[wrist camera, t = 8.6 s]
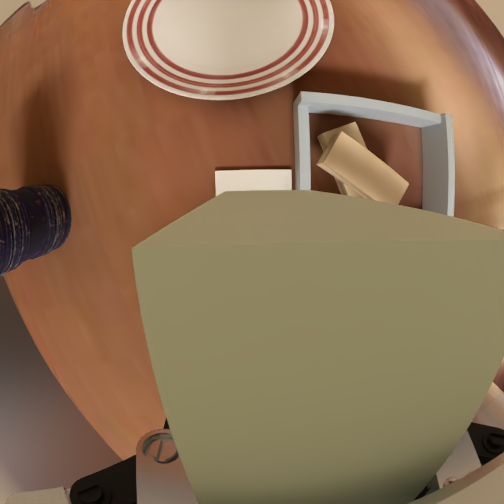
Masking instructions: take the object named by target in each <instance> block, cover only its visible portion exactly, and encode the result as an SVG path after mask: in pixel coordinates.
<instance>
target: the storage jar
mask: <svg viewBox="0 0 504 504" xmlns="http://www.w3.org/2000/svg"><path fill="white" fill-rule="evenodd" d="M70 228H71V210H70V206H69V203H68V201H67V199H66V197H65V195H64V194H63V192H62V191H61V190H60V189H58V188H57V187H55V186H53V185H31V186H26V187H22V188H19V189H17V190H7V189H0V276H1V275H3V274H5V273H7V272H9V271H11V270H13V269H15V268H17V267H18V266H19V265H20V264H21V263H22V262H24V261H26V260H28V259H34V258H37V257H40V256H43V255H45V254H47V253H49V252H51V251H52V250H54V249H57V248H59V247H60V246H61V245H62V244H63V243H64V242H65V241H66V239H67V237H68V235H69V232H70Z"/></svg>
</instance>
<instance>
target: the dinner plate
mask: <svg viewBox="0 0 504 504" xmlns="http://www.w3.org/2000/svg"><path fill="white" fill-rule="evenodd" d="M333 30H334V13H333V9H332V5H331V2H330V0H132V1H131V3H130V5H129V7H128V10H127V12H126V15H125V19H124V23H123V31H122V33H123V44H124V48H125V51H126V54H127V56H128V58H129V60H130V62H131V63H132V65H133V66H134V67H135V69H136V70H137V71H138V72H139V73H140V74H141V75H142V76H144V77H145V78H146V79H147V80H149V81H150V82H151V83H153V84H154V85H156V86H158V87H160V88H162V89H164V90H166V91H169V92H172V93H174V94H178V95H181V96H185V97H190V98H196V99H204V100H234V99H241V98H248V97H252V96H256V95H260V94H264V93H267V92H270V91H273V90H275V89H278V88H280V87H283V86H285V85H287V84H289V83H291V82H292V81H294V80H296V79H298V78H299V77H301V76H302V75H303V74H305V73H306V72H307V71H309V70H310V69H311V68H312V67H313V66H314V65H315V64H316V63H317V62H318V61H319V60H320V58H321V57H322V56H323V54H324V53H325V51H326V50H327V48H328V46H329V44H330V41H331V38H332V35H333Z"/></svg>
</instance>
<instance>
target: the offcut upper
mask: <svg viewBox="0 0 504 504" xmlns="http://www.w3.org/2000/svg"><path fill="white" fill-rule="evenodd" d="M316 165H318V166H319V167H321V168H322V169H324V170H325V171H327V172H328V173H330V174H331V175H333V176H334V177H336V178H337V179H338V180H340V181H341V182H343V183H344V184H346V185H347V186H348V187H350V188H351V189H353V190H354V191H355V192H357V193H358V194H360V195H361V196H362V197H364V198H365V199H370V200H376V201H381V202H387V203H392V204H397V205H398V204H399V202H400V200H401V198H402V197H403V195H404V193H405V191H406V189H407V187H408V185H409V183H408V182H407V181H405V180H404V179H403V178H402V177H401V176H400V175H398V174H397V173H396V172H395V171H394V170H392V169H391V168H390V167H389V166H388V165H386V164H385V163H384V162H383V161H381V160H380V159H379V158H378V157H376V156H375V155H374V154H372V153H371V152H370V151H369V150H367V149H366V148H365V147H363V146H362V145H361V144H359V143H358V142H357V141H355V140H354V139H352V138H351V137H350V136H348V135H347V134H345V133H344V132H343V131H341V132H339V133H337V134H335V135H333V137H332V138H331V140H330V142H329V143H328V145H327V147H326V148H325V150H324V152H323V153H322V155H321V157H320V158H319V160H318V162H317V163H316Z"/></svg>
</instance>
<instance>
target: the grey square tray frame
mask: <svg viewBox="0 0 504 504" xmlns="http://www.w3.org/2000/svg"><path fill="white" fill-rule="evenodd" d="M309 113H319V114H332V115H342V116H351V117H360V118H368V119H375V120H381V121H388V122H394V123H400V124H405V125H410V126H415V127H420V128H421V135H422V157H423V196H422V210H426V211H431V212H435V213H439V214H444V215H448V216H452V217H454V197H455V156H454V137H453V125H452V115H449V114H446V113H444V114H437V113H434V112H430V111H426V110H422V109H418V108H414V107H409V106H405V105H400V104H395V103H390V102H385V101H379V100H373V99H367V98H361V97H354V96H346V95H338V94H328V93H317V92H304V91H301V92H300V93H299V95H298V96H297V98H296V99H295V101H294V102H293V118H294V148H295V190H311V172H310V132H309Z"/></svg>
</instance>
